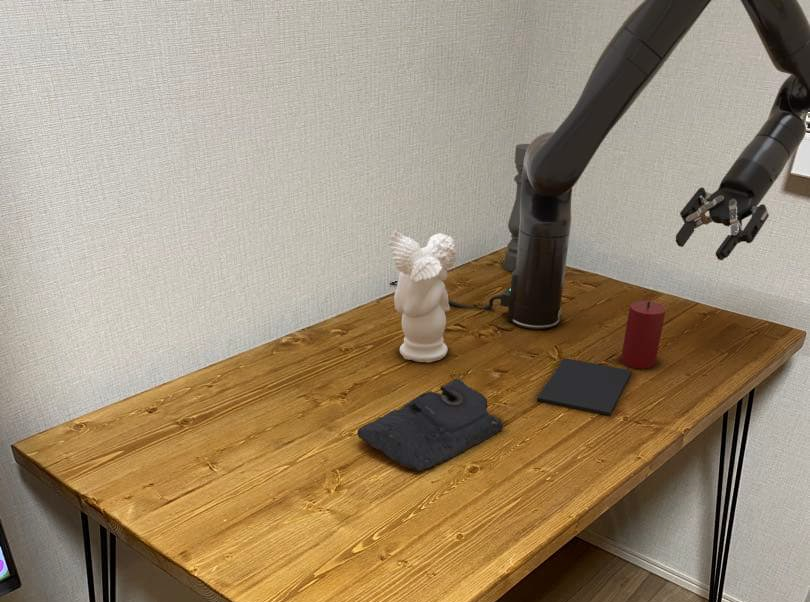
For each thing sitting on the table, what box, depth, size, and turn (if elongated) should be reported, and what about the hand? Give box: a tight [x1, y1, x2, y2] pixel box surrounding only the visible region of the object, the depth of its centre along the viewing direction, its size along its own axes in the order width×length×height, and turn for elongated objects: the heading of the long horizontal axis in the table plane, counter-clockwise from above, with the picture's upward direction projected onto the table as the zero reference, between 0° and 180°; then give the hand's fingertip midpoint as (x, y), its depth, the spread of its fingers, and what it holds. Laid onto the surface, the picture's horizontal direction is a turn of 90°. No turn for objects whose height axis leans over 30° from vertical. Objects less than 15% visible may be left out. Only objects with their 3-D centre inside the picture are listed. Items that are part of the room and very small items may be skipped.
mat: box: [536, 357, 633, 416], centre depth 148 cm, size 12×17×1 cm
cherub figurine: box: [388, 230, 458, 363], centre depth 150 cm, size 12×12×22 cm
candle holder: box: [504, 143, 530, 273], centre depth 188 cm, size 6×6×25 cm
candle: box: [620, 300, 667, 370], centre depth 154 cm, size 6×6×11 cm
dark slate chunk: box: [357, 378, 504, 472], centre depth 133 cm, size 15×22×5 cm
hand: (698, 250), depth 153 cm, fingers open, 8 cm apart
